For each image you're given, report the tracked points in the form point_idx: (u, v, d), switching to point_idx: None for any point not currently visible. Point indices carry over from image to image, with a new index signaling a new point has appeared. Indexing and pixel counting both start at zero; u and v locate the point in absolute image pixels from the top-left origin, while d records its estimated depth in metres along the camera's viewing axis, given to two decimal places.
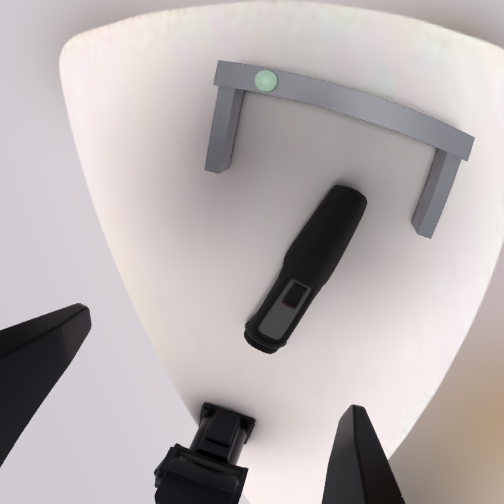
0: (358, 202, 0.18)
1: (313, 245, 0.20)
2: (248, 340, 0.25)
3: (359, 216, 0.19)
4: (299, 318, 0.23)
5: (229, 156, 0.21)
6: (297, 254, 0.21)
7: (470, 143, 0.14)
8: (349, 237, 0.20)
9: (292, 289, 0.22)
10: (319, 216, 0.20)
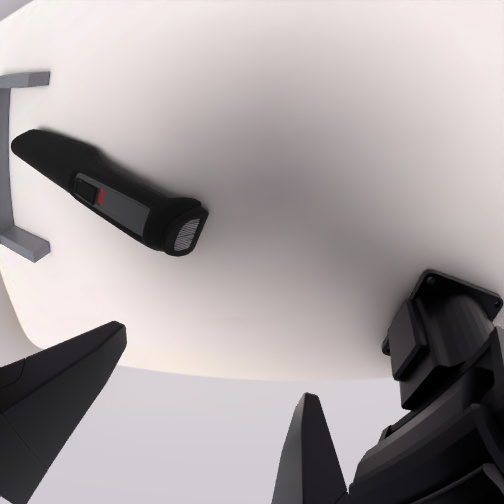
0: (15, 142, 0.17)
1: (45, 175, 0.17)
2: (166, 252, 0.18)
3: (31, 136, 0.17)
4: (115, 183, 0.17)
5: (39, 241, 0.23)
6: None
7: None
8: (47, 139, 0.17)
9: (79, 194, 0.17)
10: None
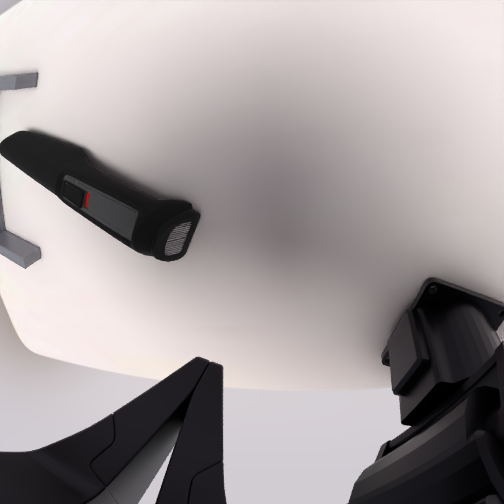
0: (3, 145, 0.16)
1: (32, 177, 0.16)
2: (156, 257, 0.17)
3: (19, 137, 0.16)
4: (102, 185, 0.16)
5: (30, 246, 0.22)
6: None
7: None
8: (34, 141, 0.16)
9: (67, 197, 0.16)
10: None
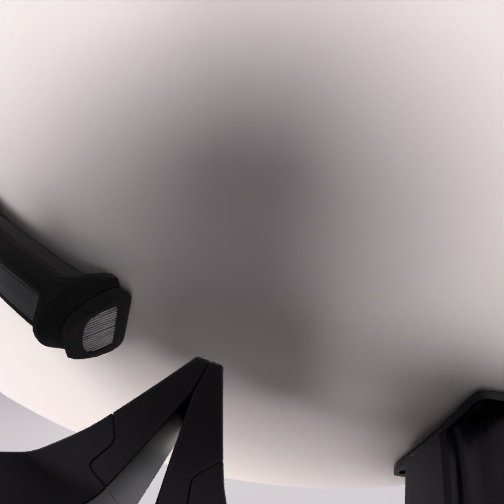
0: None
1: None
2: None
3: None
4: None
5: None
6: None
7: None
8: None
9: None
10: None
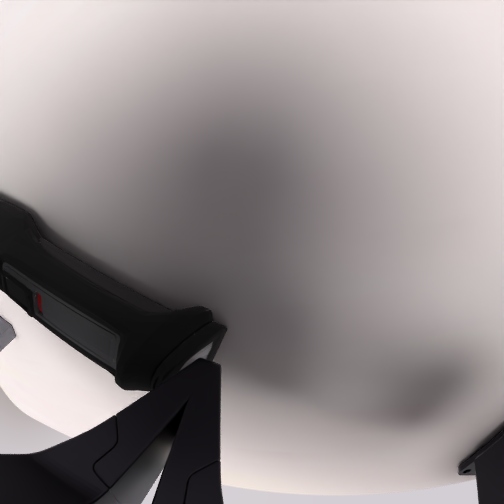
0: None
1: None
2: None
3: None
4: (56, 286, 0.09)
5: (0, 323, 0.15)
6: None
7: None
8: None
9: (12, 295, 0.09)
10: None
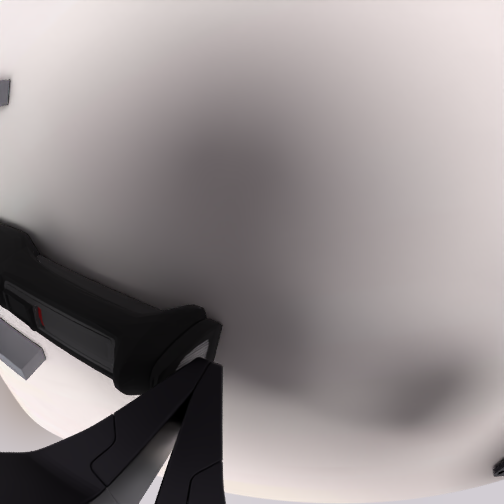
0: None
1: None
2: None
3: None
4: (52, 297, 0.09)
5: (28, 345, 0.14)
6: None
7: None
8: None
9: (15, 312, 0.10)
10: None
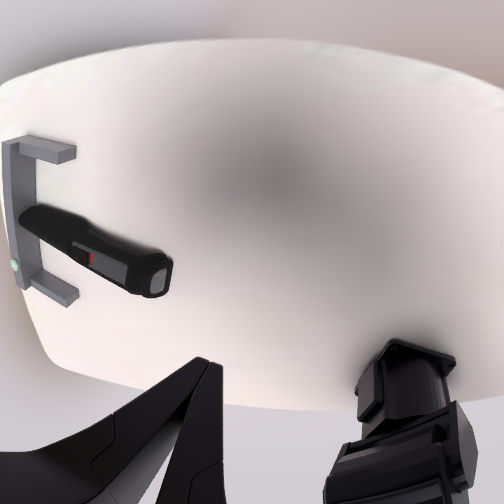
0: (21, 218, 0.23)
1: (48, 243, 0.23)
2: (145, 296, 0.23)
3: (33, 212, 0.23)
4: (100, 248, 0.22)
5: (69, 288, 0.28)
6: None
7: (4, 144, 0.19)
8: (45, 215, 0.23)
9: (76, 257, 0.23)
10: None
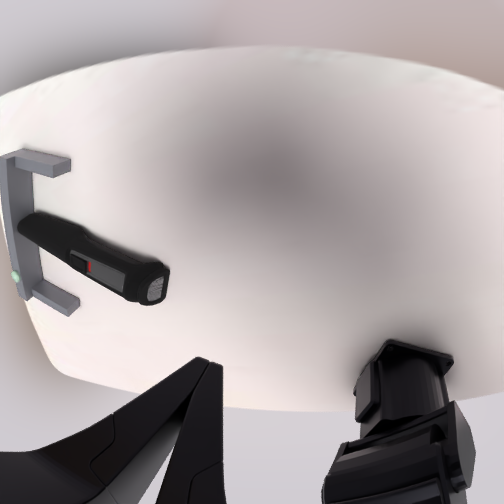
0: (20, 226, 0.23)
1: None
2: None
3: (31, 220, 0.23)
4: (98, 256, 0.22)
5: (70, 297, 0.28)
6: None
7: (0, 159, 0.20)
8: (44, 223, 0.23)
9: (74, 265, 0.23)
10: None
